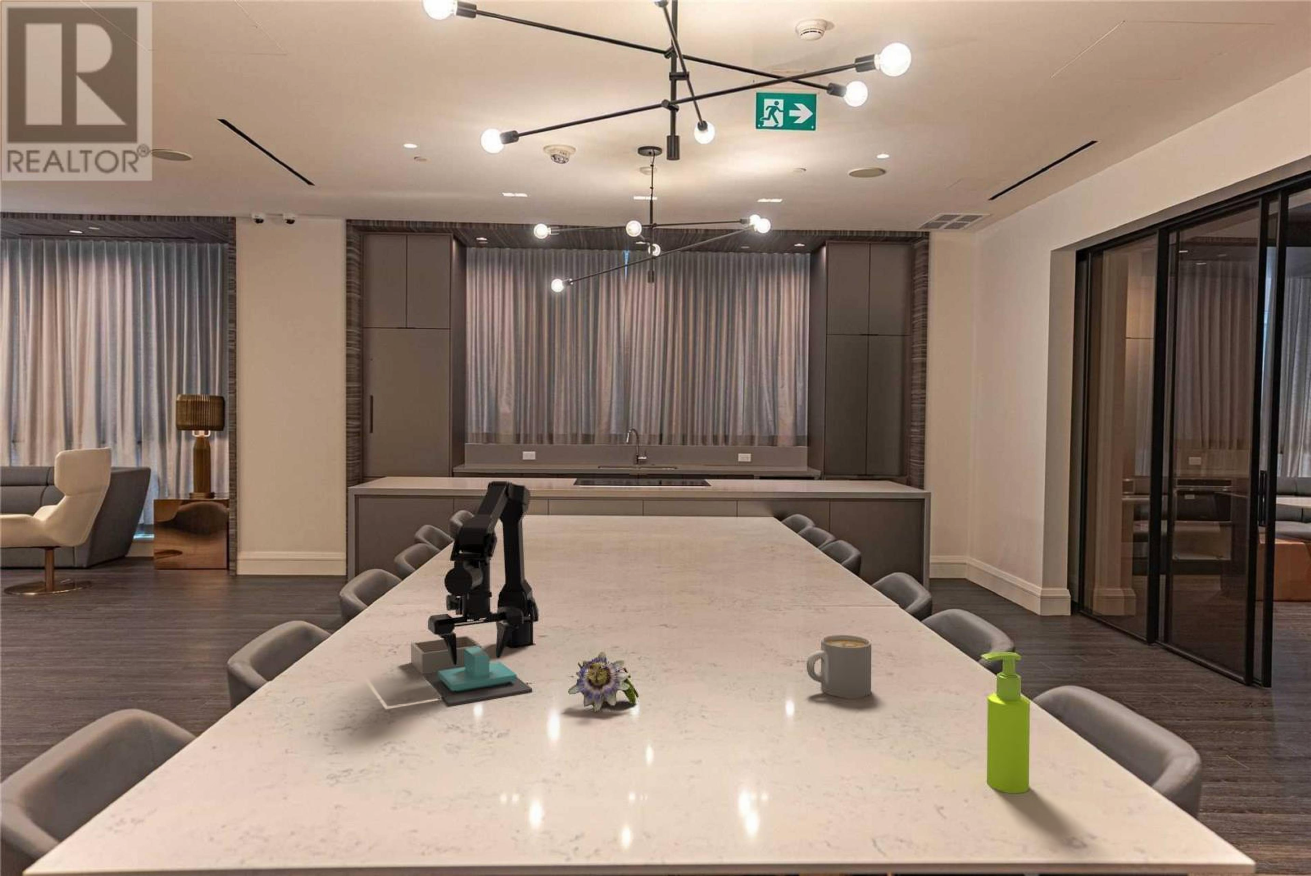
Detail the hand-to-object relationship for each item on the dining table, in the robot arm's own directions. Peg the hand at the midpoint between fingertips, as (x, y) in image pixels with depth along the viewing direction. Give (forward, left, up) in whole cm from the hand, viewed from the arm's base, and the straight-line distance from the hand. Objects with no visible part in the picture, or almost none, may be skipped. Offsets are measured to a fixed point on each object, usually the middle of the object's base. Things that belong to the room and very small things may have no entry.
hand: (476, 661), depth 174 cm
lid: (0, 0, -4) cm, 5 cm away
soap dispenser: (-55, +85, -5) cm, 101 cm away
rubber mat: (0, 0, -5) cm, 5 cm away
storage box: (+2, -16, -5) cm, 17 cm away
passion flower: (-18, +23, -5) cm, 30 cm away
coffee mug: (-63, +39, -5) cm, 74 cm away
